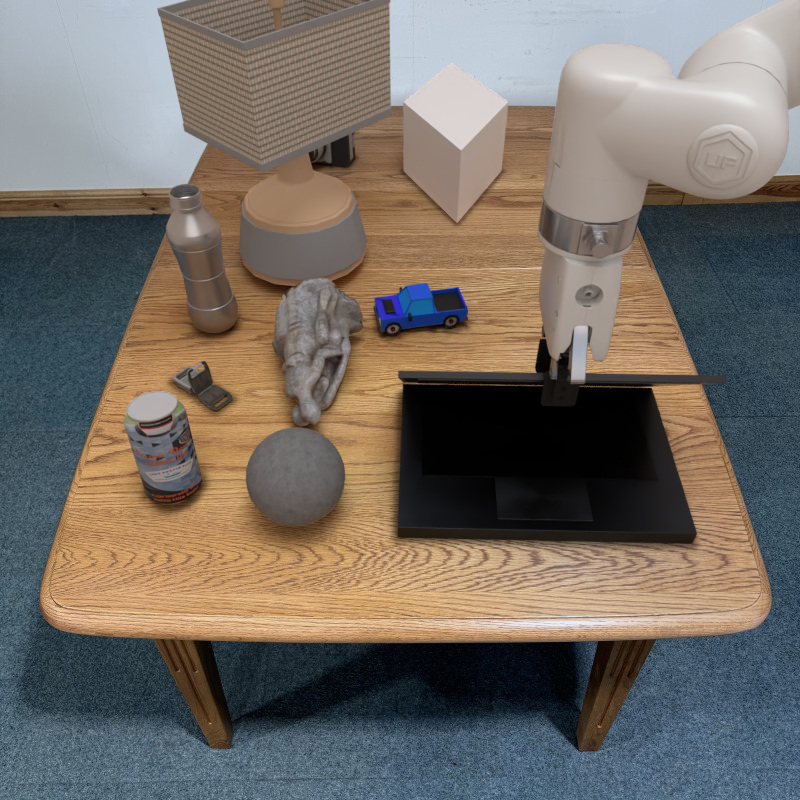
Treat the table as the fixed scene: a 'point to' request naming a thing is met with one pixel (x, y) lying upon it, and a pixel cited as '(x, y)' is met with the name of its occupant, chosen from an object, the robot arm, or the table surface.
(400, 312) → the toy car
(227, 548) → the table surface
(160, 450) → the beverage can
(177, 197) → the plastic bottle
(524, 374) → the laptop screen
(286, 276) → the desk lamp
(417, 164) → the block
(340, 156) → the camera
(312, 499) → the decorative ball
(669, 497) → the laptop
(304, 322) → the sculpture
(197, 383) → the strap clip
